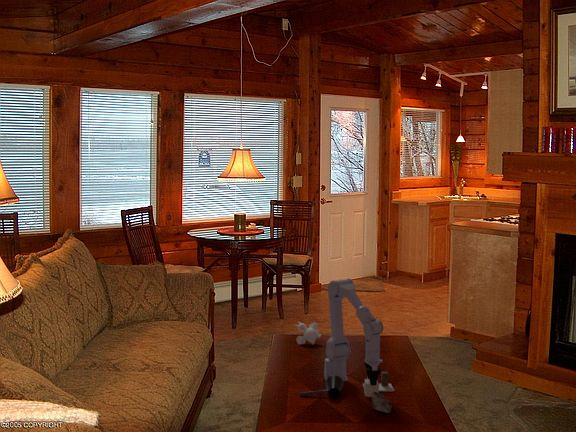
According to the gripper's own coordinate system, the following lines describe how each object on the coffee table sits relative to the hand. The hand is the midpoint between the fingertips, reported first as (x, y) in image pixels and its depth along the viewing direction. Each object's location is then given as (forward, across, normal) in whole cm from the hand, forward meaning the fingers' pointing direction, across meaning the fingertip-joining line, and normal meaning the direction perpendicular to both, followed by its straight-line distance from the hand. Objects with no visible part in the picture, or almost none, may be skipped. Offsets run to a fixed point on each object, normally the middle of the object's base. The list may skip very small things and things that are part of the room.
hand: (371, 382), depth 298 cm
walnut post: (+5, +10, -7) cm, 13 cm away
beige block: (+5, 0, 0) cm, 5 cm away
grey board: (+5, +8, -4) cm, 10 cm away
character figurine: (+5, +73, +22) cm, 76 cm away
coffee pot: (+6, 0, +20) cm, 21 cm away
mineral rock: (+6, -14, -2) cm, 16 cm away
